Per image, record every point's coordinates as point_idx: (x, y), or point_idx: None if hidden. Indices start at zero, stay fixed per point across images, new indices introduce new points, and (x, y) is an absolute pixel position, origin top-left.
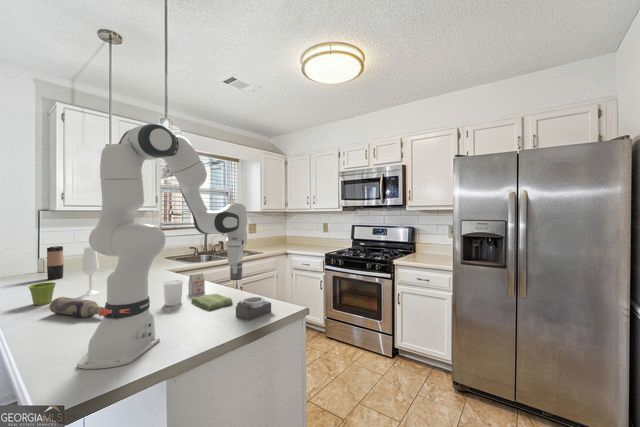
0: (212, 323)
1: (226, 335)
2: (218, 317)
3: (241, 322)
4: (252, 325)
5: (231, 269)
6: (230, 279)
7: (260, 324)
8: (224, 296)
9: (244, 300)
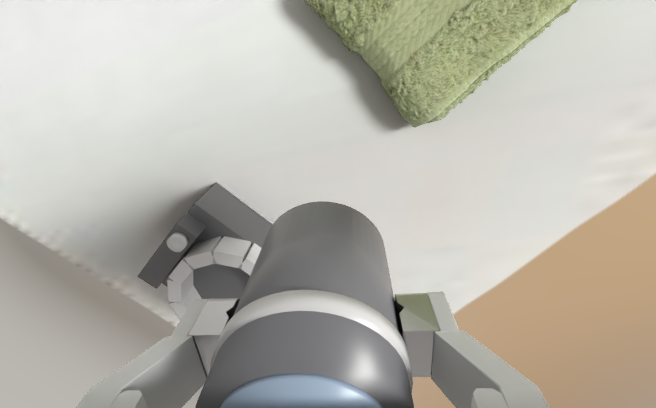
0: (111, 88)
1: (14, 186)
2: (193, 96)
3: (148, 219)
4: (127, 263)
5: (243, 300)
6: (289, 210)
7: (142, 288)
8: (500, 52)
9: (207, 259)
